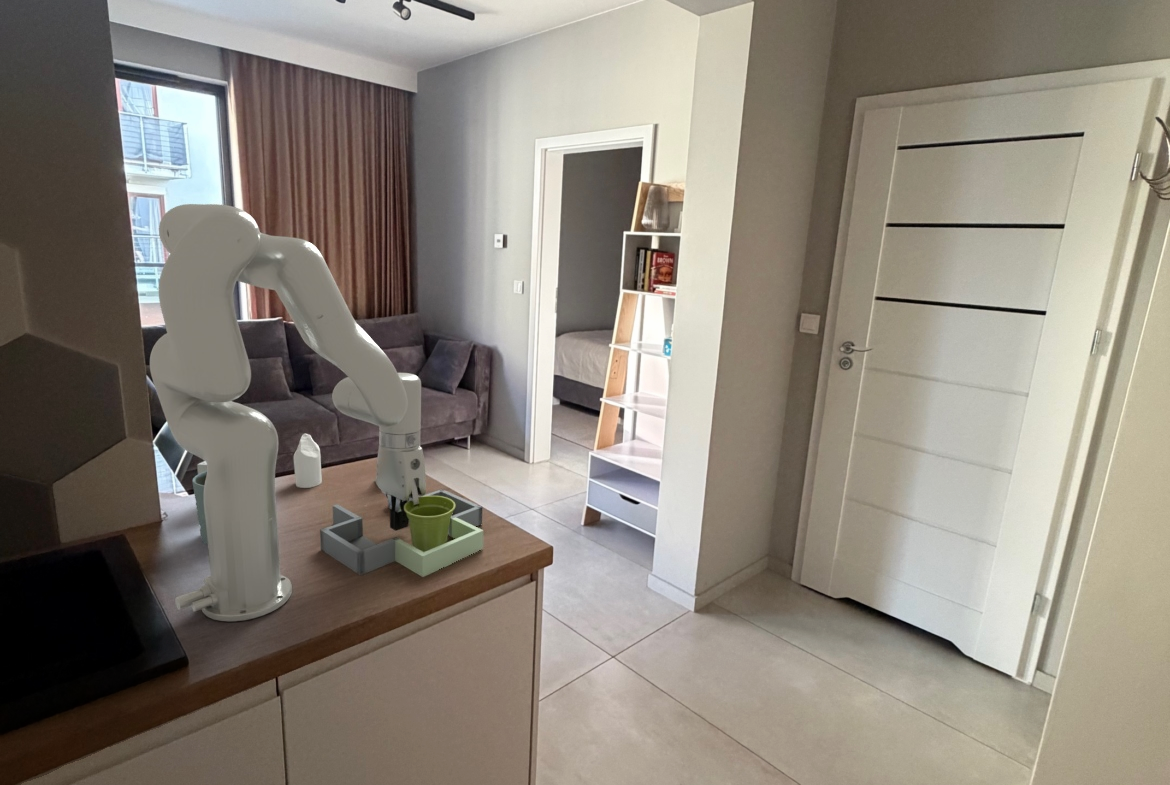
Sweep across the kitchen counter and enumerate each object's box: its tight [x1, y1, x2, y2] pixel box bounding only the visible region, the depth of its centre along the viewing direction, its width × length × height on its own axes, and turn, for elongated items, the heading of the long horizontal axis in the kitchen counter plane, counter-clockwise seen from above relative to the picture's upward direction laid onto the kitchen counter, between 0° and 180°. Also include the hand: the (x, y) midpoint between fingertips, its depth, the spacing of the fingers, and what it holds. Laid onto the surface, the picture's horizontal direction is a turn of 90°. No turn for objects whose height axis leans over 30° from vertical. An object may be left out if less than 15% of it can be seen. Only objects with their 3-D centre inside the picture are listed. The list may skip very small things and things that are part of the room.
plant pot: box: [404, 496, 455, 552], centre depth 116 cm, size 9×9×9 cm
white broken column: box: [293, 433, 323, 489], centre depth 142 cm, size 6×12×6 cm
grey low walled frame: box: [319, 488, 484, 578], centre depth 120 cm, size 28×29×4 cm
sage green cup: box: [191, 471, 208, 546], centre depth 116 cm, size 10×10×12 cm
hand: (399, 527), depth 121 cm, fingers closed
